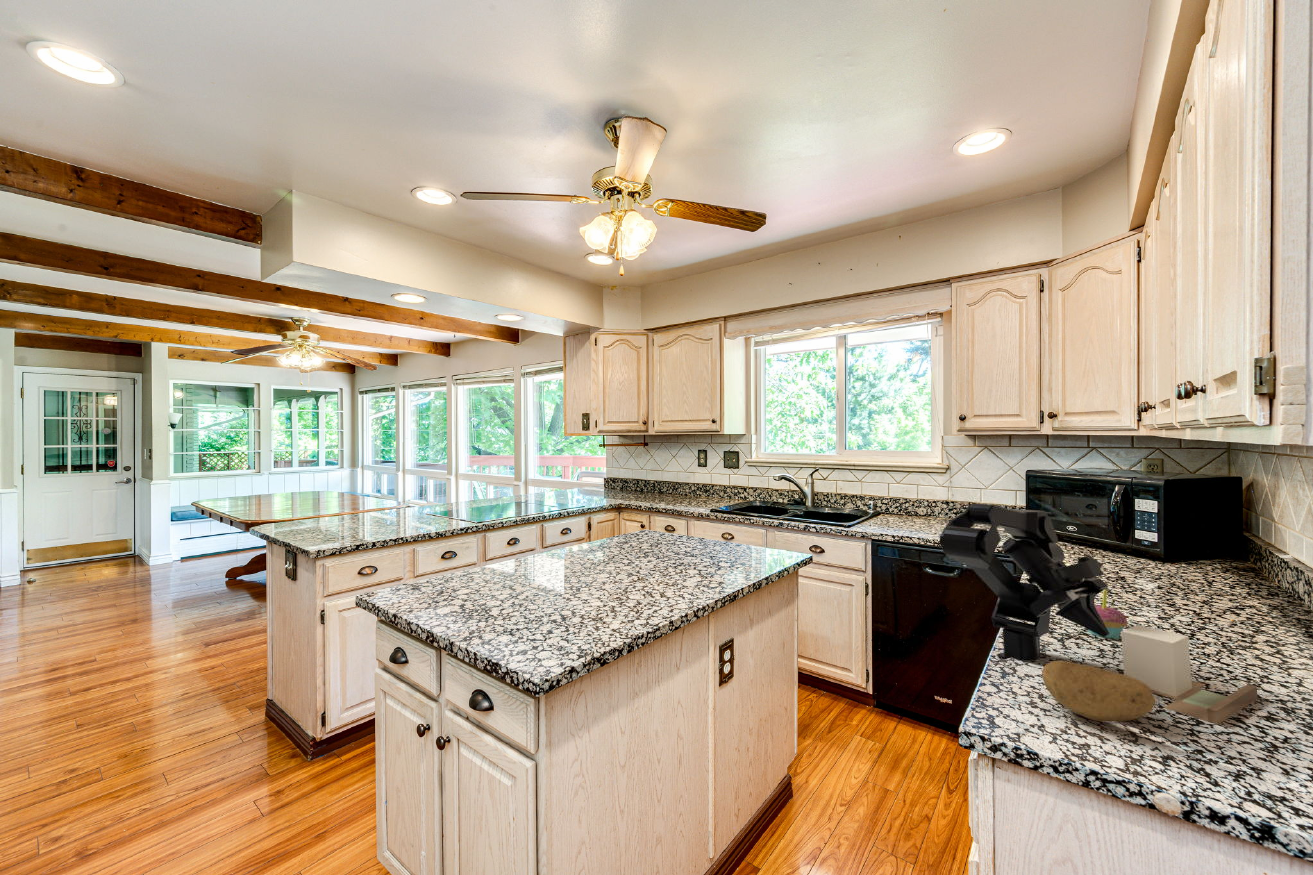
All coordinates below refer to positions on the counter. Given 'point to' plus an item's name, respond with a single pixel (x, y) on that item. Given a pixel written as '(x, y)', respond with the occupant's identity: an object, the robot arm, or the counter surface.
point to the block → (1157, 659)
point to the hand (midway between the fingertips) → (1106, 635)
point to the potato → (1097, 692)
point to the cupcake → (1110, 619)
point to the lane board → (1211, 702)
